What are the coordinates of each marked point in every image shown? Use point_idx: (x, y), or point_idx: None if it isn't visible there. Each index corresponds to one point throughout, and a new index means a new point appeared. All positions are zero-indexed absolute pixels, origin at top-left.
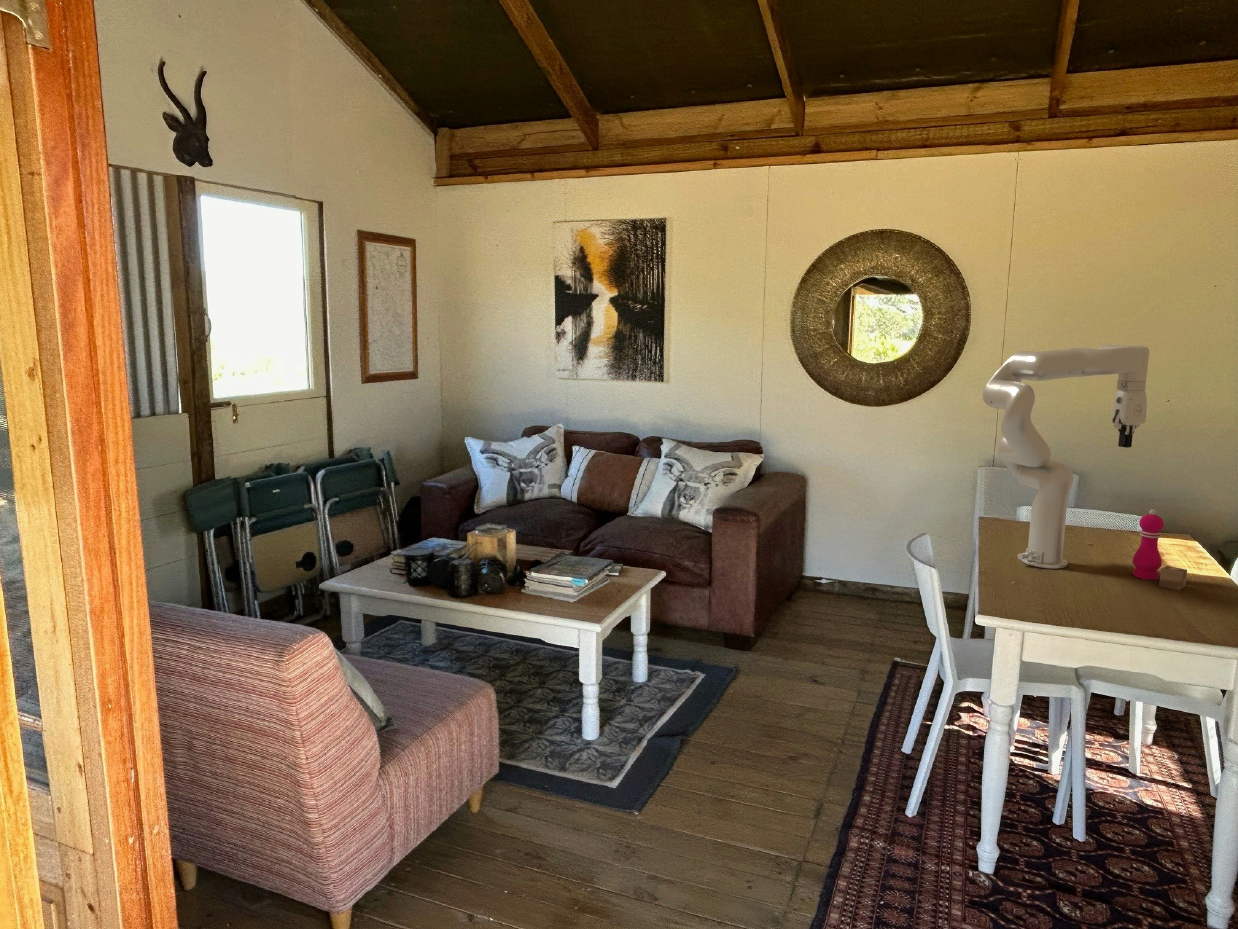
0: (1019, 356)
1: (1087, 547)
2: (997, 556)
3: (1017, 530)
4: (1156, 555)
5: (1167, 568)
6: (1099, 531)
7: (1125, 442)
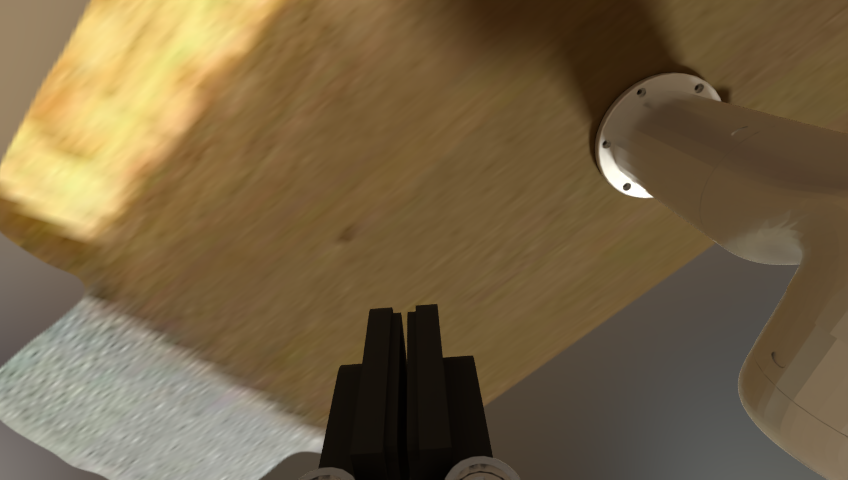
0: None
1: (380, 217)
2: (694, 232)
3: None
4: None
5: None
6: (204, 323)
7: (453, 370)
